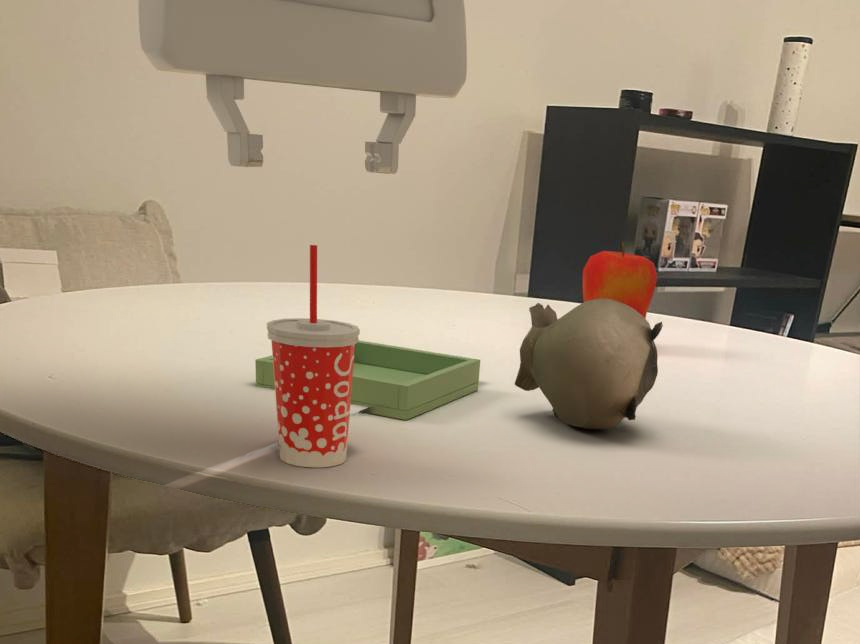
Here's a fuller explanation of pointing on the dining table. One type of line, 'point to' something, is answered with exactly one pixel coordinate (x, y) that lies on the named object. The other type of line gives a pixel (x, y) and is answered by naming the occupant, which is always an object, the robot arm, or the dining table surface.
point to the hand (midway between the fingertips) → (316, 170)
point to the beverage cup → (313, 383)
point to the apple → (620, 279)
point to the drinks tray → (399, 379)
